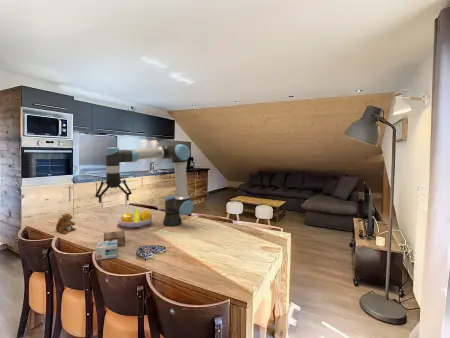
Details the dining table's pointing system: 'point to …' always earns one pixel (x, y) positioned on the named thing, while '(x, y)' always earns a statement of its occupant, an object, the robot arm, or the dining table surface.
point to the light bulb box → (106, 249)
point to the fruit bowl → (135, 219)
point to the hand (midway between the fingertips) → (114, 206)
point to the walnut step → (115, 237)
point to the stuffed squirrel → (65, 224)
